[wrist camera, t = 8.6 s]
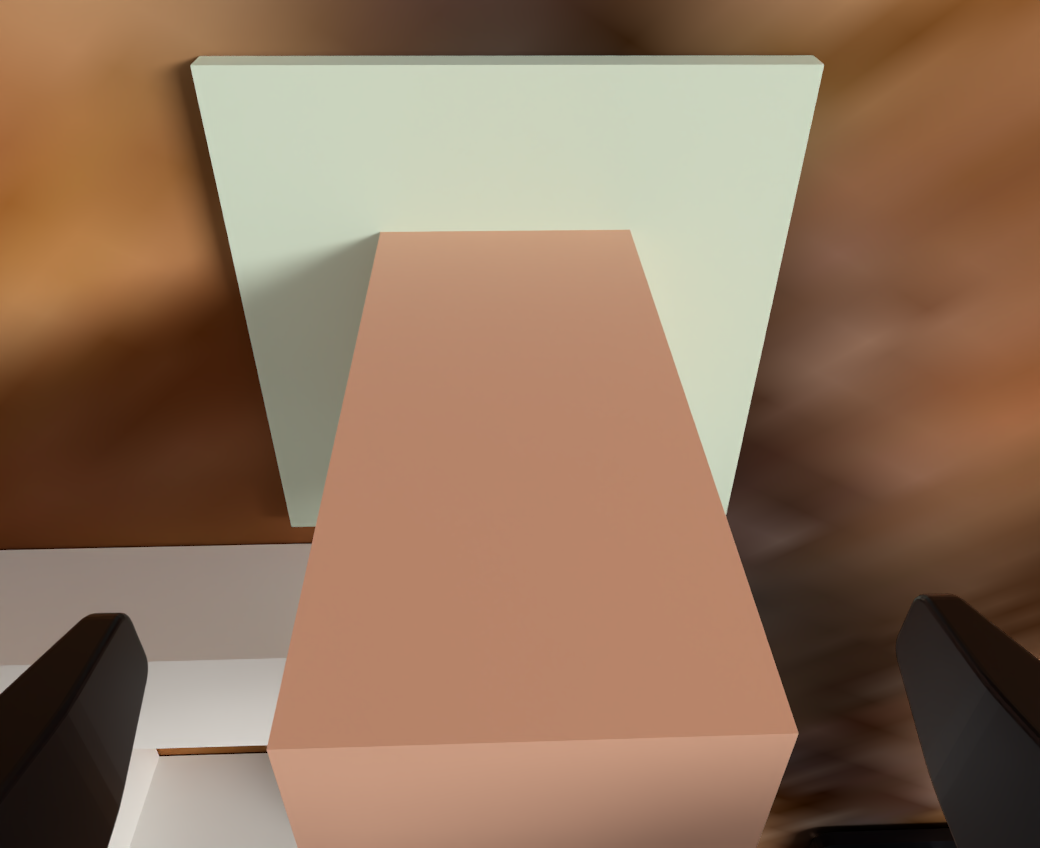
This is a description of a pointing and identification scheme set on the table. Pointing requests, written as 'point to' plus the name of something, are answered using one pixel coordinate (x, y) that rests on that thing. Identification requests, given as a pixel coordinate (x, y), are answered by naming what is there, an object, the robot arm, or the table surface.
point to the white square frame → (177, 674)
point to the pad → (502, 203)
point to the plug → (523, 574)
